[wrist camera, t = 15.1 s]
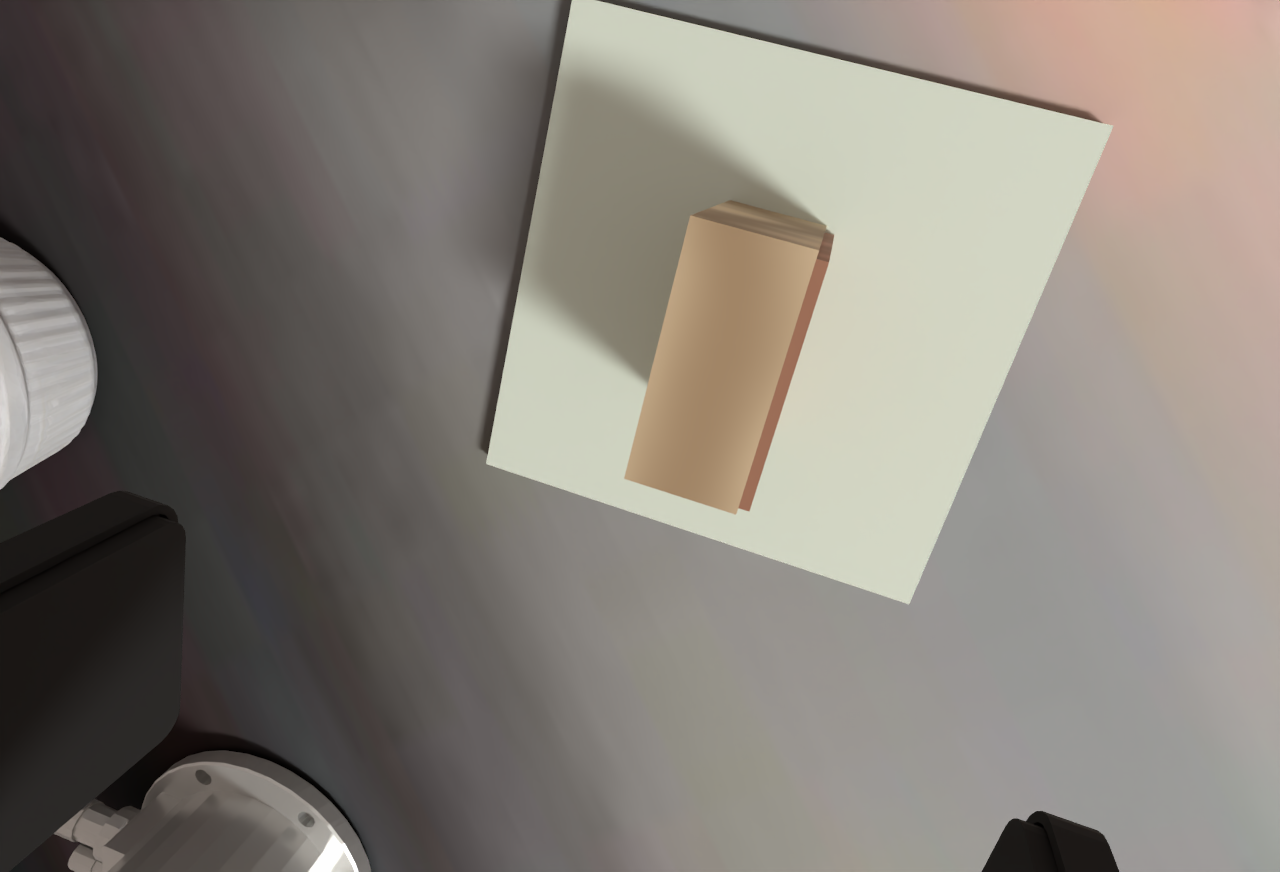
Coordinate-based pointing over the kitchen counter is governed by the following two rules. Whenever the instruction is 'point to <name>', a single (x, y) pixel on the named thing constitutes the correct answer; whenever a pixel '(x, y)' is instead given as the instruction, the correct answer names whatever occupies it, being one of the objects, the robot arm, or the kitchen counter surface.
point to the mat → (849, 296)
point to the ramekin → (40, 363)
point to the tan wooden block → (727, 352)
